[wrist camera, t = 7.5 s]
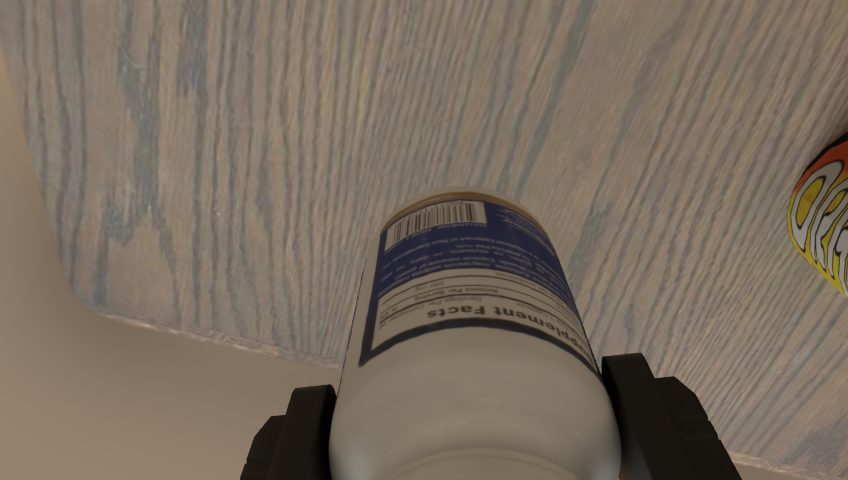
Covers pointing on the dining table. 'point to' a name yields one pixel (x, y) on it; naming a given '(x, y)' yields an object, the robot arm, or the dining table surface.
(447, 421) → the pill bottle
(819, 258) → the beverage can
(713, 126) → the dining table surface
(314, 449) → the robot arm
